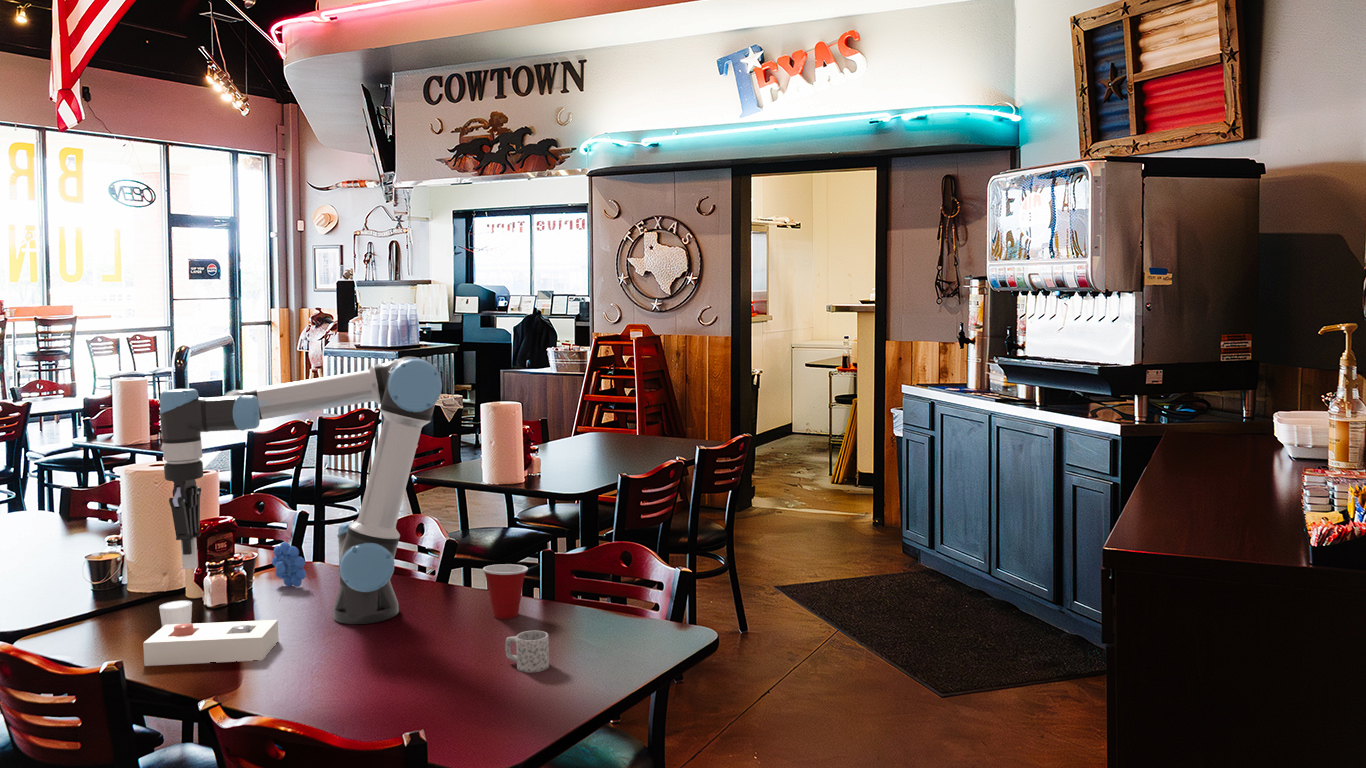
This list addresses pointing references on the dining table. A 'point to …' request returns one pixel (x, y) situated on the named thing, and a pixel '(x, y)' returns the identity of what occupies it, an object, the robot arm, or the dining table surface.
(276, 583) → the dining table surface
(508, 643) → the mug
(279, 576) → the grapes
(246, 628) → the steel button
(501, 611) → the plastic cup
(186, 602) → the white short tapered cylinder
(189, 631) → the red button
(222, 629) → the button box
